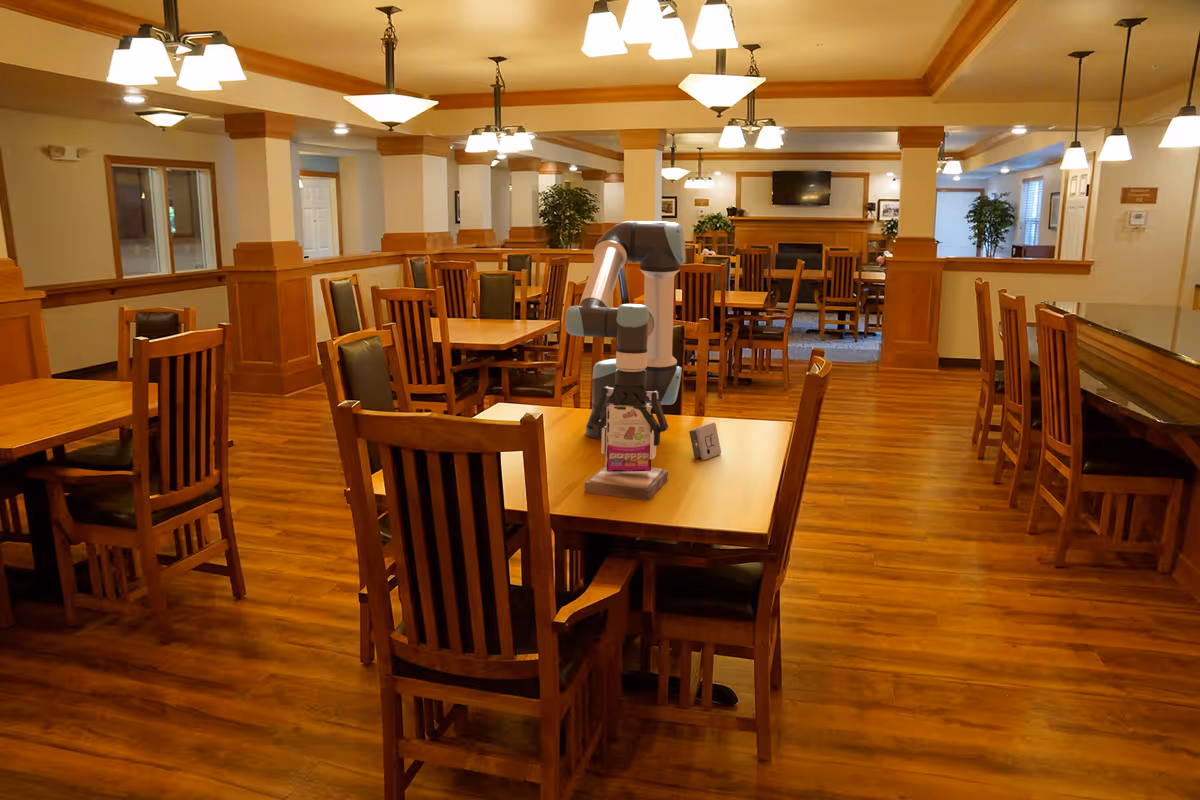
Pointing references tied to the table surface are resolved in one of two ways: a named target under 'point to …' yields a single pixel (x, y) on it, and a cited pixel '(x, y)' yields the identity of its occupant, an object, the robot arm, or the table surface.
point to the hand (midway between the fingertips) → (628, 455)
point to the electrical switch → (705, 441)
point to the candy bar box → (627, 438)
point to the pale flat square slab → (627, 483)
